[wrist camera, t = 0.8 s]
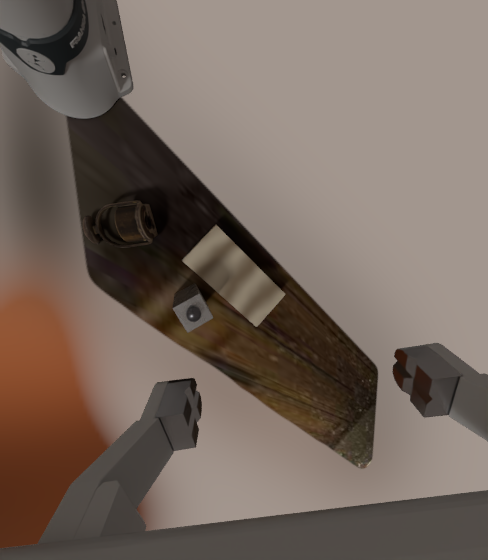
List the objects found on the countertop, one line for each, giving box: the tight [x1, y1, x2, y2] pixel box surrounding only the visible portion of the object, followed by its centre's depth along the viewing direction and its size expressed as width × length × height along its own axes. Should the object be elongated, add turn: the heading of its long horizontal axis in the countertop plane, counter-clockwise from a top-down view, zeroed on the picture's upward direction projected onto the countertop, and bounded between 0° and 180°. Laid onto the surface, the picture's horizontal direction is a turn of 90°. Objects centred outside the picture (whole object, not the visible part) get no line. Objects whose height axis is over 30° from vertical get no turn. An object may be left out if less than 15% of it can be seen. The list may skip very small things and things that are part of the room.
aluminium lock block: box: [173, 283, 213, 333], centre depth 44 cm, size 5×5×13 cm
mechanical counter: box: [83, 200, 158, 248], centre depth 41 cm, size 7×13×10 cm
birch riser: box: [182, 225, 285, 327], centre depth 50 cm, size 22×10×4 cm, turn 46°
